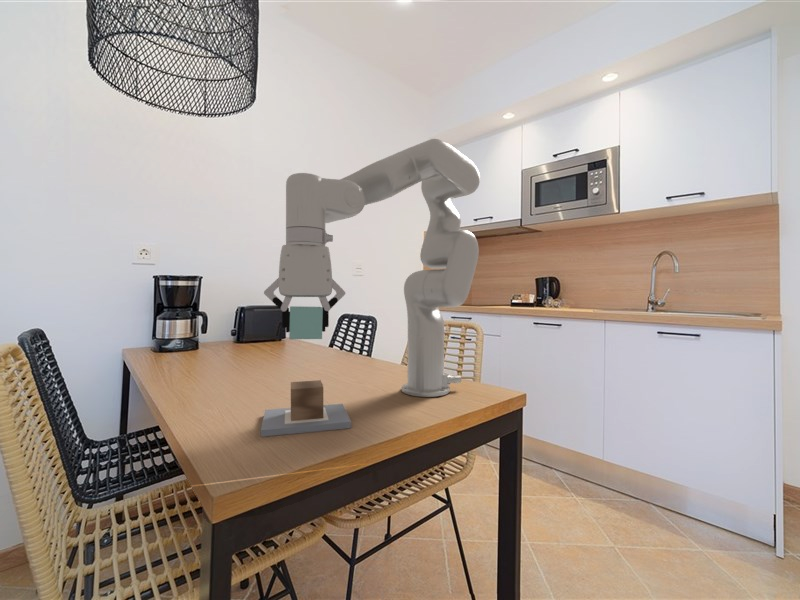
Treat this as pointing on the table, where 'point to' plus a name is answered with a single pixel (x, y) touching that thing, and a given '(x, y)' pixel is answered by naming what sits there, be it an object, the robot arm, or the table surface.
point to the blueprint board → (304, 421)
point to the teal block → (305, 322)
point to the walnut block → (306, 400)
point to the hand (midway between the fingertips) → (305, 330)
